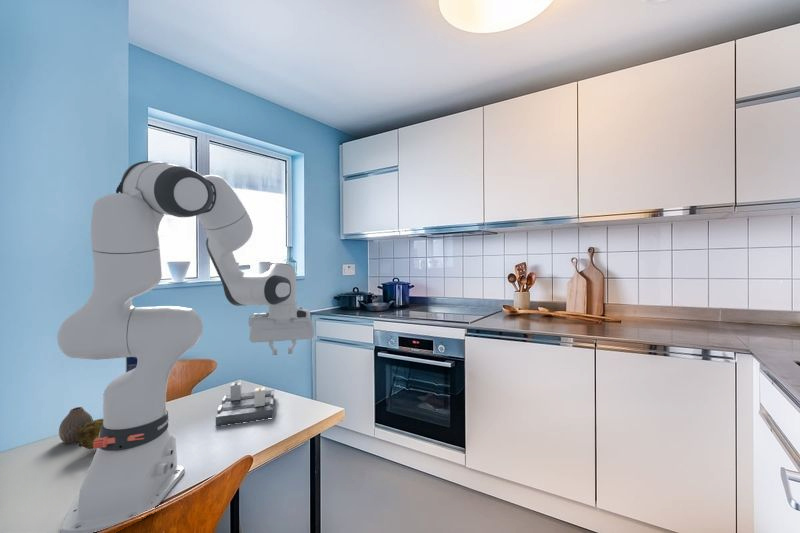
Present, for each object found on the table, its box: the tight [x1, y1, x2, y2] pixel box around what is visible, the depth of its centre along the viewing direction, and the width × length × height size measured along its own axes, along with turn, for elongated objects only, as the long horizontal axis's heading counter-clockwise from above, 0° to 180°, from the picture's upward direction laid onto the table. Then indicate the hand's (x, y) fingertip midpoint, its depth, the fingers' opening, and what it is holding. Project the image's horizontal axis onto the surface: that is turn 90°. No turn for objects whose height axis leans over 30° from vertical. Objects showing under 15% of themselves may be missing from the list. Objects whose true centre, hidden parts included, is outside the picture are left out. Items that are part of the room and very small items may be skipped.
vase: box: [58, 406, 94, 445], centre depth 93 cm, size 7×7×9 cm
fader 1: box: [230, 381, 242, 401], centre depth 115 cm, size 3×3×5 cm
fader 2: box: [254, 386, 266, 407], centre depth 110 cm, size 3×3×5 cm
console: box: [215, 389, 275, 427], centre depth 112 cm, size 18×16×4 cm
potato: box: [76, 418, 103, 450], centre depth 90 cm, size 8×13×8 cm, turn 142°
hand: (282, 353), depth 112 cm, fingers open, 3 cm apart
